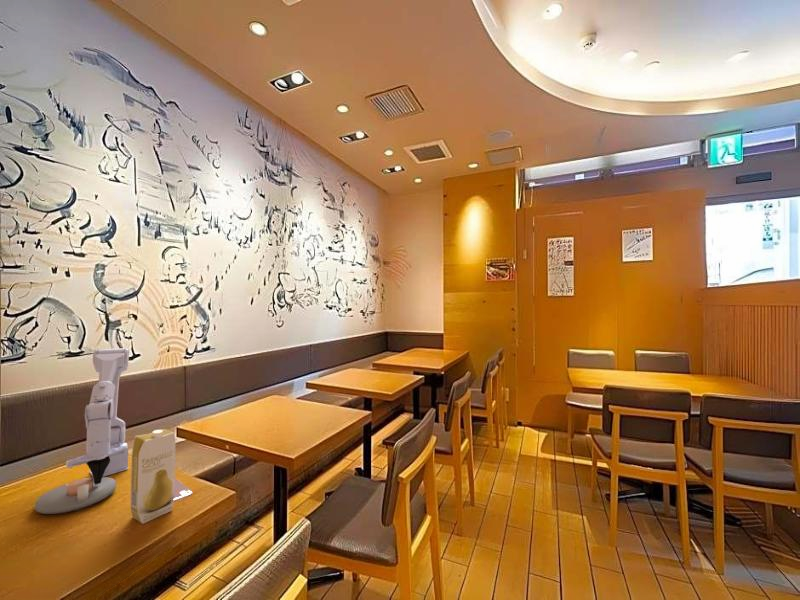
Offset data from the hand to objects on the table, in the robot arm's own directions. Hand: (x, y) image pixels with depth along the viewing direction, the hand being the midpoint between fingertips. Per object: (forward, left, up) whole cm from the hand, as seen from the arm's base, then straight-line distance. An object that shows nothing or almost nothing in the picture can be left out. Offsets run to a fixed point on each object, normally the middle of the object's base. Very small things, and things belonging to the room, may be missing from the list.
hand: (97, 482), depth 109 cm
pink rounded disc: (+4, 0, -1) cm, 4 cm away
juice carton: (-7, +26, -4) cm, 27 cm away
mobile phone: (-15, +16, -4) cm, 23 cm away
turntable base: (+5, 0, -3) cm, 6 cm away
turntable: (+5, 0, -2) cm, 5 cm away
